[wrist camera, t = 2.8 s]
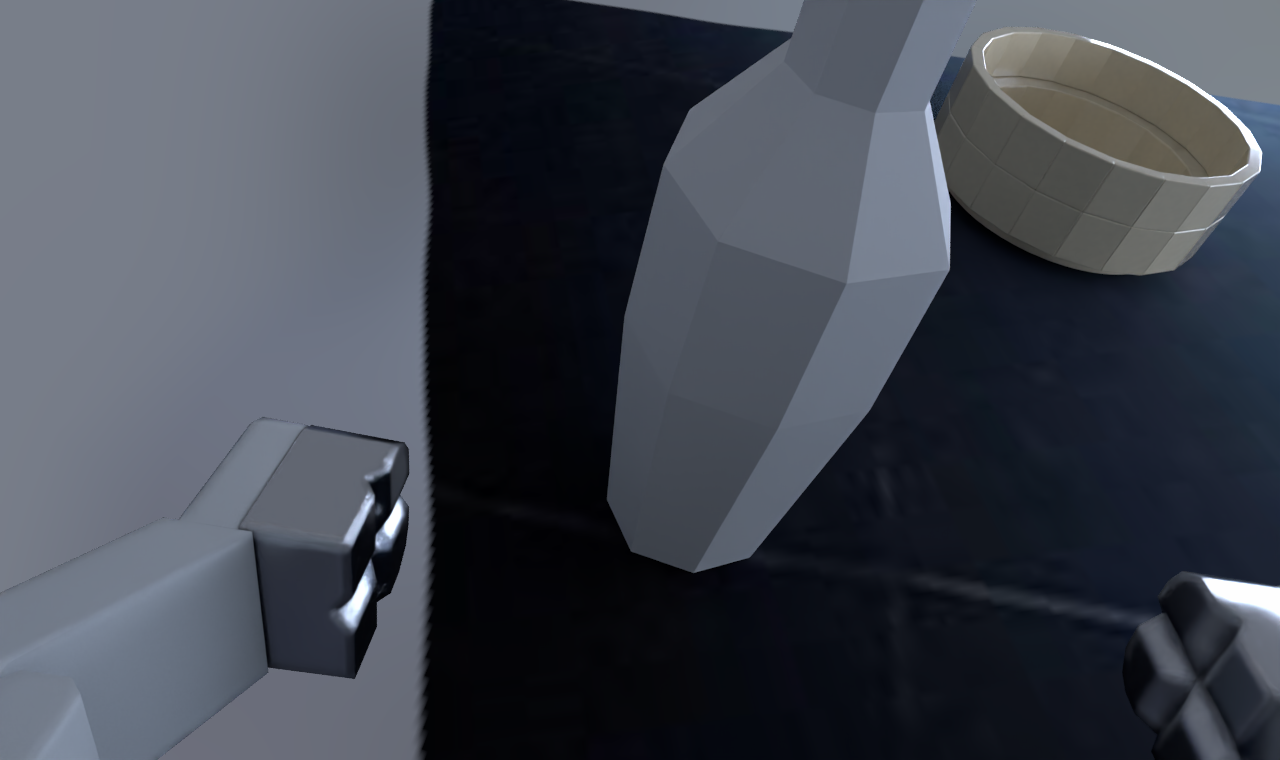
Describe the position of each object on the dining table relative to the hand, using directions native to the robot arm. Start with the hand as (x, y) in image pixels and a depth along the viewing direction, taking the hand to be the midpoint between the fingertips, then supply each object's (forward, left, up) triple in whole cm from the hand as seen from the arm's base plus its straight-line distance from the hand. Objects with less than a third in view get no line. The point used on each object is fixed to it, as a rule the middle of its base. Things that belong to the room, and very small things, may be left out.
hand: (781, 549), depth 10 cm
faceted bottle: (0, +11, -14) cm, 17 cm away
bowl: (+14, +36, -13) cm, 41 cm away
